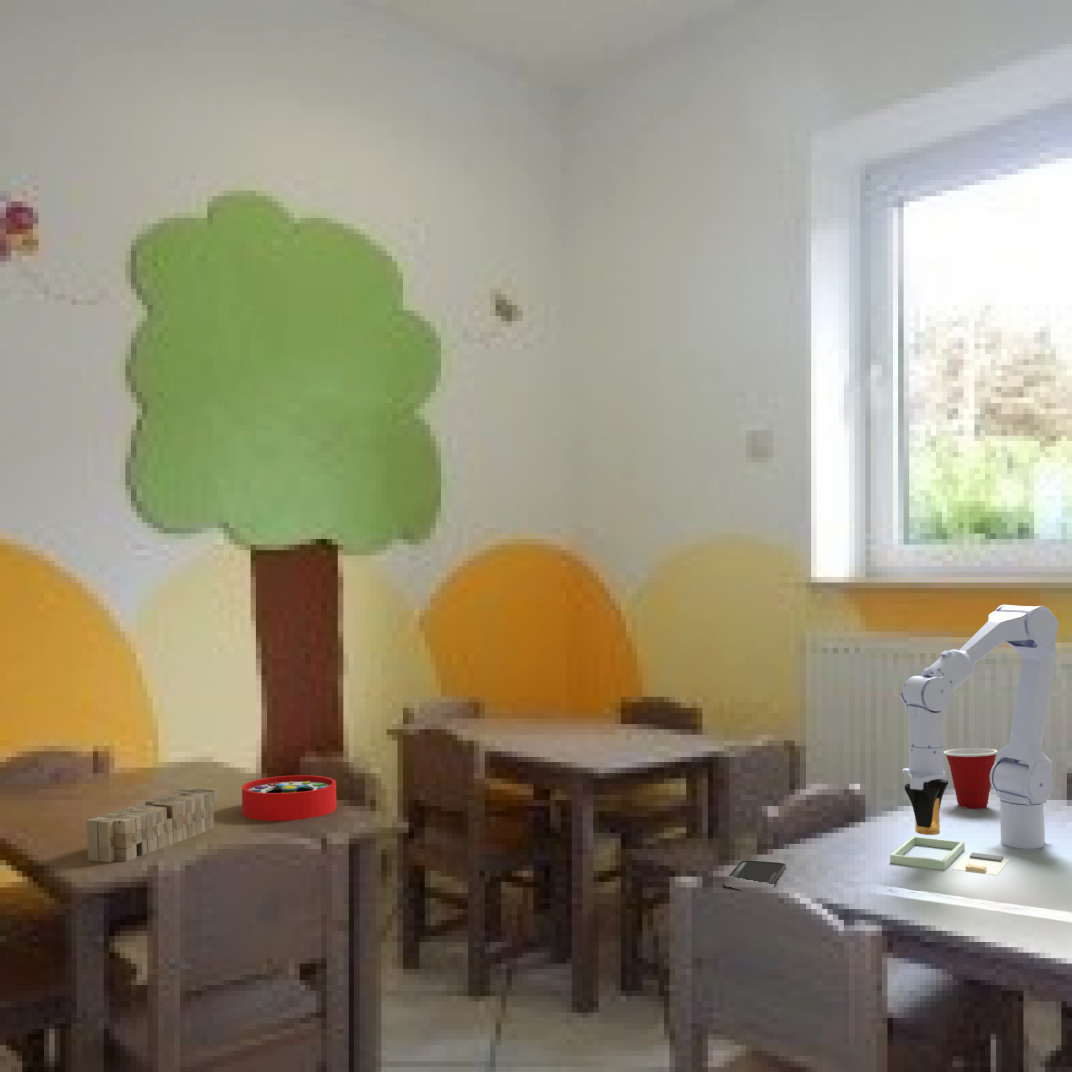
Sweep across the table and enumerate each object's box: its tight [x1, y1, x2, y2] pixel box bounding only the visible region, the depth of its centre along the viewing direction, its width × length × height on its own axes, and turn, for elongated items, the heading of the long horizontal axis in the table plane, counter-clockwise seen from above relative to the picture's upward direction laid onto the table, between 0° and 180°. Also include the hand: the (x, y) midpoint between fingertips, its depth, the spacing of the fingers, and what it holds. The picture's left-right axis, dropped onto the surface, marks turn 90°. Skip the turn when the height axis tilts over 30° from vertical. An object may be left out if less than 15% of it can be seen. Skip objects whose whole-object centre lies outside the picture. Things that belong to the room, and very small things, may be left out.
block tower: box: [85, 786, 219, 863], centre depth 219 cm, size 8×8×29 cm
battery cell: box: [914, 797, 941, 836], centre depth 197 cm, size 4×4×7 cm
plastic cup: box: [943, 747, 999, 810], centre depth 240 cm, size 11×11×12 cm
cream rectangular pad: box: [952, 852, 1010, 876], centre depth 191 cm, size 11×7×2 cm, turn 148°
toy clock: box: [241, 774, 337, 822], centre depth 245 cm, size 20×6×20 cm
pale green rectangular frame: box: [889, 835, 965, 871], centre depth 197 cm, size 15×9×2 cm, turn 148°
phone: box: [728, 859, 787, 885], centre depth 190 cm, size 8×1×15 cm
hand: (927, 824), depth 197 cm, fingers closed on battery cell, 4 cm apart
